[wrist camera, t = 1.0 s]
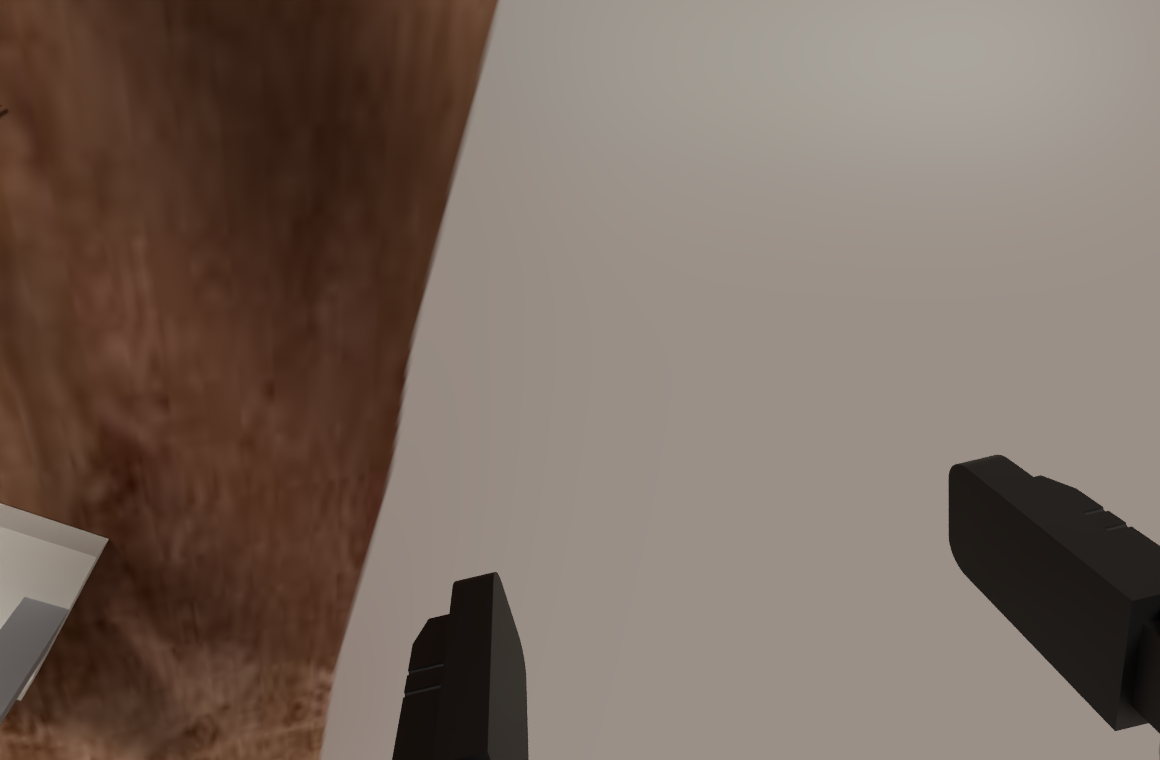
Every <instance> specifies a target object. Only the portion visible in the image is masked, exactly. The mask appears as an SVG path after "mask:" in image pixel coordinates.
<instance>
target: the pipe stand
mask: <svg viewBox="0 0 1160 760" xmlns="http://www.w3.org/2000/svg"><path fill="white" fill-rule="evenodd" d="M108 540H109V539H107V538H104V537H101V536H98V535H95V534H92V533H89V532H86V531H83V530H80V529H77V528H74V527H71V526H68V525H65V524H62V523H59V522H56V521H53V520H50V519H47V518H44V517H41V516H38V515H35V514H32V513H29V512H26V511H23V510H19V509H16V508H13V507H10V506H7V505H4V504H1V503H0V725H1V723H2V722H3V720H4V719H5V717H6V715H7V714H8V712H9V711H10V709H11V707H12V706H13V704H14V703H15V701H16V700H20V701H21V700H22V698H23V697H24V695H25V693H26V692H27V690H28V689H29V687H30V685H31V684H32V682H33V681H34V679H35V677H36V675H37V674H38V672H39V670H40V668H41V666H42V664H43V662H44V660H45V658H46V657H47V655H48V653H49V651H50V649H51V647H52V645H53V643H54V642H55V640H56V638H57V636H58V634H59V632H60V630H61V628H62V626H63V625H64V623H65V621H66V619H67V617H68V615H69V613H70V611H71V610H72V608H73V606H74V604H75V602H76V600H77V598H78V596H79V594H80V593H81V591H82V589H83V587H84V585H85V583H86V581H87V579H88V578H89V576H90V574H91V572H92V570H93V568H94V566H95V564H96V562H97V561H98V559H99V557H100V555H101V553H102V551H103V549H104V547H105V546H106V544H107V542H108Z"/></svg>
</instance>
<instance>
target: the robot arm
mask: <svg viewBox="0 0 1160 760" xmlns="http://www.w3.org/2000/svg"><path fill="white" fill-rule="evenodd" d="M949 542H950V546H951V550H952V553H953V556H954V558H955V560H956V562H957V564H958V566H959V567H960V569H961V570H962V572H963V573H964V574H965V575H966V576H967V577H968V578H969V579H970V581H971V582H972V583H973V584H974V585H975V586H976V587H977V588H978V589H979V590H980V591H981V592H982V593H983V594H984V595H985V596H986V597H987V598H988V599H989V600H990V601H991V602H992V603H993V604H994V605H995V606H996V607H997V609H998V610H999V611H1000V612H1001V613H1002V614H1003V615H1004V616H1005V617H1006V618H1007V619H1008V620H1009V621H1010V622H1011V623H1012V624H1013V625H1014V626H1015V627H1016V628H1017V629H1018V630H1019V631H1020V633H1022V635H1023V636H1024V637H1025V638H1026V639H1027V640H1028V641H1029V642H1030V643H1031V644H1032V645H1033V646H1034V647H1035V648H1036V649H1037V650H1038V651H1039V652H1040V653H1041V654H1042V655H1043V656H1044V658H1045V659H1046V660H1047V661H1048V662H1049V663H1050V664H1051V665H1052V666H1053V667H1054V668H1055V669H1056V670H1057V671H1058V672H1059V673H1060V674H1061V675H1062V676H1063V677H1064V678H1065V679H1066V680H1067V681H1068V683H1070V685H1071V686H1072V687H1073V688H1074V689H1075V690H1076V691H1077V692H1078V693H1079V694H1080V695H1081V696H1082V697H1083V698H1084V699H1085V700H1086V701H1087V702H1088V703H1089V704H1090V705H1091V706H1092V708H1093V709H1094V710H1095V711H1096V712H1097V713H1098V714H1099V715H1100V716H1101V717H1102V718H1103V719H1104V720H1105V721H1106V722H1107V723H1108V724H1109V725H1110V726H1111V727H1112V728H1113V729H1114V730H1115V731H1117V730H1122V729H1126V728H1130V727H1134V726H1138V725H1142V724H1146V723H1150V724H1151V725H1152V726H1153V727H1154V728H1155V729H1156V730H1157V731H1158V732H1159V733H1160V546H1159V545H1158V544H1156V543H1155V542H1153V541H1152V540H1150V539H1149V538H1148V537H1146V536H1145V535H1143V534H1142V533H1140V532H1139V531H1137V530H1136V529H1134V528H1133V527H1127V525H1126V522H1124V521H1123V520H1121V519H1120V518H1118V517H1117V516H1115V515H1114V514H1112V513H1111V512H1109V511H1106V512H1105V511H1104V510H1103V507H1102V506H1101V505H1099V504H1098V503H1096V502H1095V501H1093V500H1092V499H1091V498H1089V497H1088V496H1086V495H1085V494H1083V493H1082V492H1080V491H1079V490H1077V489H1076V488H1073V487H1070V486H1068V485H1065V484H1062V483H1060V482H1057V481H1054V480H1052V479H1049V478H1046V477H1044V476H1036V477H1033V476H1031V475H1030V474H1028V473H1027V472H1026V471H1024V470H1023V469H1022V468H1020V467H1019V466H1017V465H1016V464H1015V463H1013V462H1012V461H1010V460H1009V459H1008V458H1006V457H1004V456H1002V455H994V456H989V457H985V458H981V459H977V460H972V461H968V462H964V463H960V464H956V465H954V466H952V468H951V469H950V472H949ZM408 671H409V675H408V676H407V680H406V686H405V691H404V693H405V697H404V698H403V703H402V708H401V713H400V719H399V724H398V730H397V736H396V741H395V747H394V752H393V758H392V760H528V727H527V692H526V670H525V662H524V656H523V650H522V646H521V642H520V638H519V636H518V632H517V629H516V626H515V623H514V620H513V616H512V614H511V610H510V607H509V604H508V601H507V598H506V595H505V592H504V589H503V586H502V582H501V579H500V577H499V575H498V573H497V572H494V573H489V574H485V575H481V576H476V577H472V578H468V579H464V580H459V581H456V582H454V584H453V589H452V597H451V606H450V614H448V615H443V616H439V617H435V618H430V619H429V620H428V621H427V623H426V624H425V626H424V627H423V629H422V631H421V632H420V634H419V635H418V637H417V639H416V640H415V642H414V643H413V646H412V652H411V657H410V663H409V669H408ZM1159 758H1160V744H1159Z"/></svg>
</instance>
